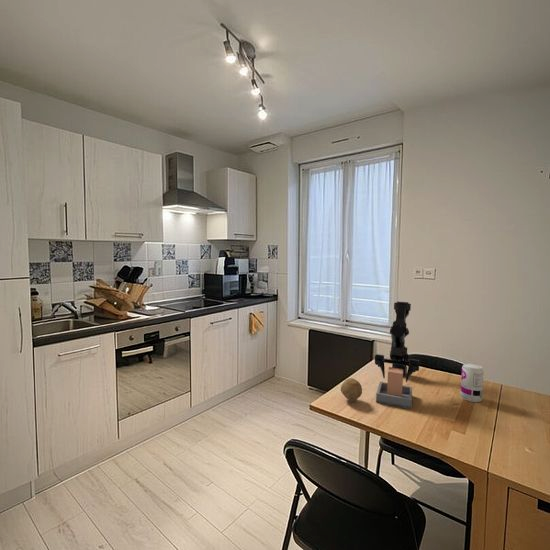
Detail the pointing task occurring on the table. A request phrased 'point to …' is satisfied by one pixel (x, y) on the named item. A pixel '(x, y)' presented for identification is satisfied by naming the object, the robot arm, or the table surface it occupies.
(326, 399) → the table surface
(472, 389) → the supplement can
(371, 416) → the table surface
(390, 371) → the carton
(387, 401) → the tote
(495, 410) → the table surface
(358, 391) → the natural sponge
